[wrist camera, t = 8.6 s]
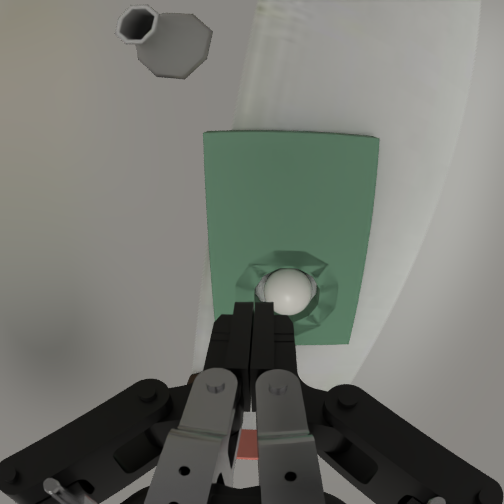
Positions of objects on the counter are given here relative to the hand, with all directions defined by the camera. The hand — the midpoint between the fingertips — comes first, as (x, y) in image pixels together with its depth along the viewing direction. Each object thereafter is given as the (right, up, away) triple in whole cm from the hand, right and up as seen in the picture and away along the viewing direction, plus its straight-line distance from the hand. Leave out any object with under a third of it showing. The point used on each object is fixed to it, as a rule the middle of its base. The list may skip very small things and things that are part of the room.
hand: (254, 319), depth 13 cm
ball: (+4, -1, +21) cm, 21 cm away
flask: (-7, +22, +13) cm, 27 cm away
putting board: (+4, +3, +21) cm, 22 cm away
